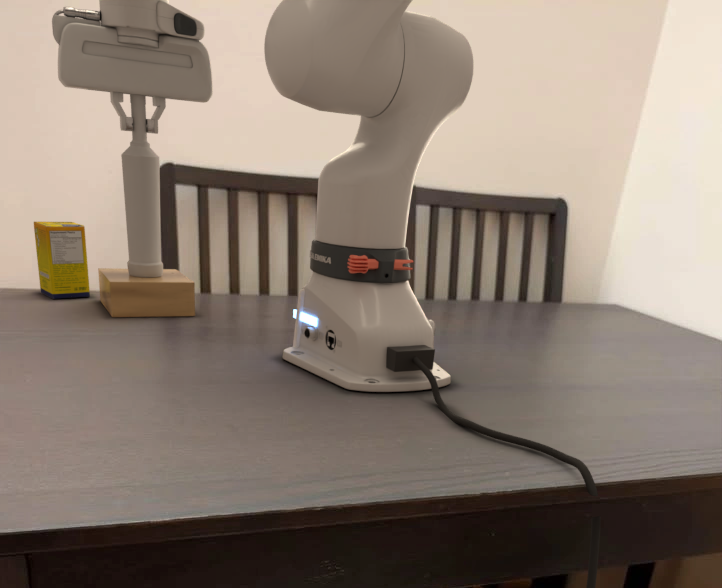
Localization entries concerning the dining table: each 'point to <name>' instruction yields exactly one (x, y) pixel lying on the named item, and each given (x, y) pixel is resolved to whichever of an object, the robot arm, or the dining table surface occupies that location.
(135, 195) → the bottle
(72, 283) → the supplement box
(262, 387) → the dining table surface
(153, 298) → the block
